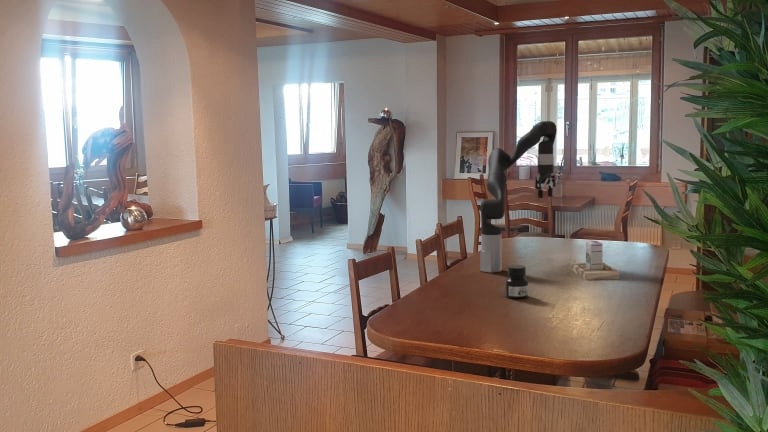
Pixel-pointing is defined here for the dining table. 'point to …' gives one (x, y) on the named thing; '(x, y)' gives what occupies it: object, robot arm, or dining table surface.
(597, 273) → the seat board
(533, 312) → the dining table surface
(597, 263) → the syrup box
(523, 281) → the ink bottle
